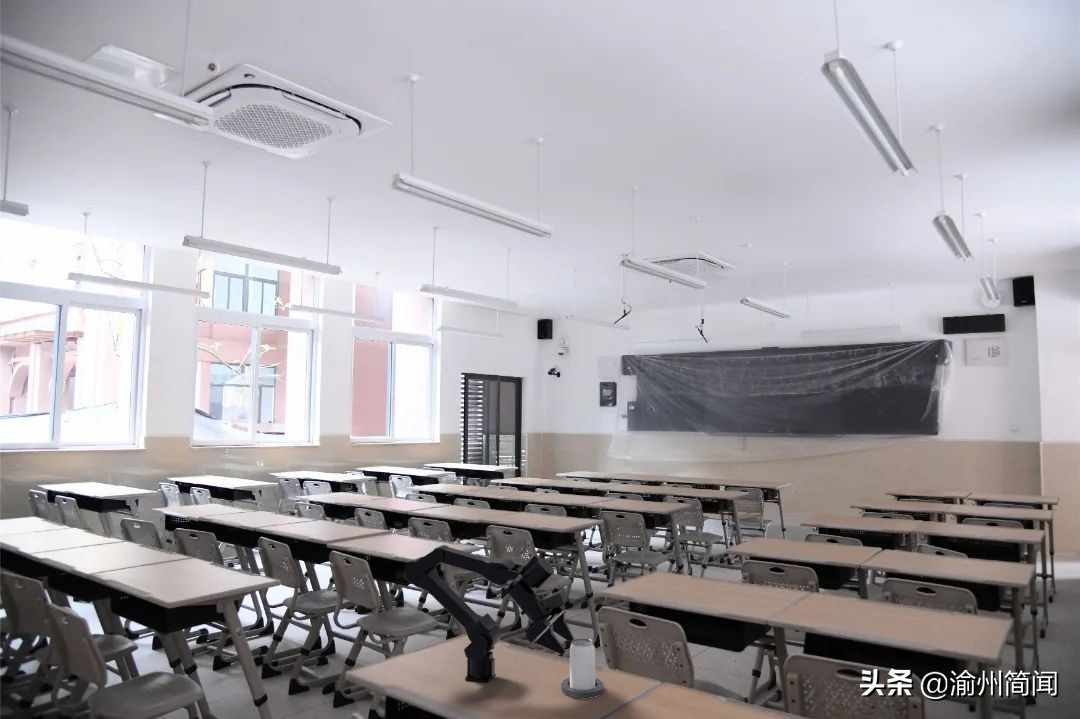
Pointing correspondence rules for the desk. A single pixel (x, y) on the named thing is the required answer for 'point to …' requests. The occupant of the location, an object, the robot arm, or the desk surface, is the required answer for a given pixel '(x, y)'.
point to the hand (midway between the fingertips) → (568, 647)
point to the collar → (582, 693)
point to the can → (582, 664)
